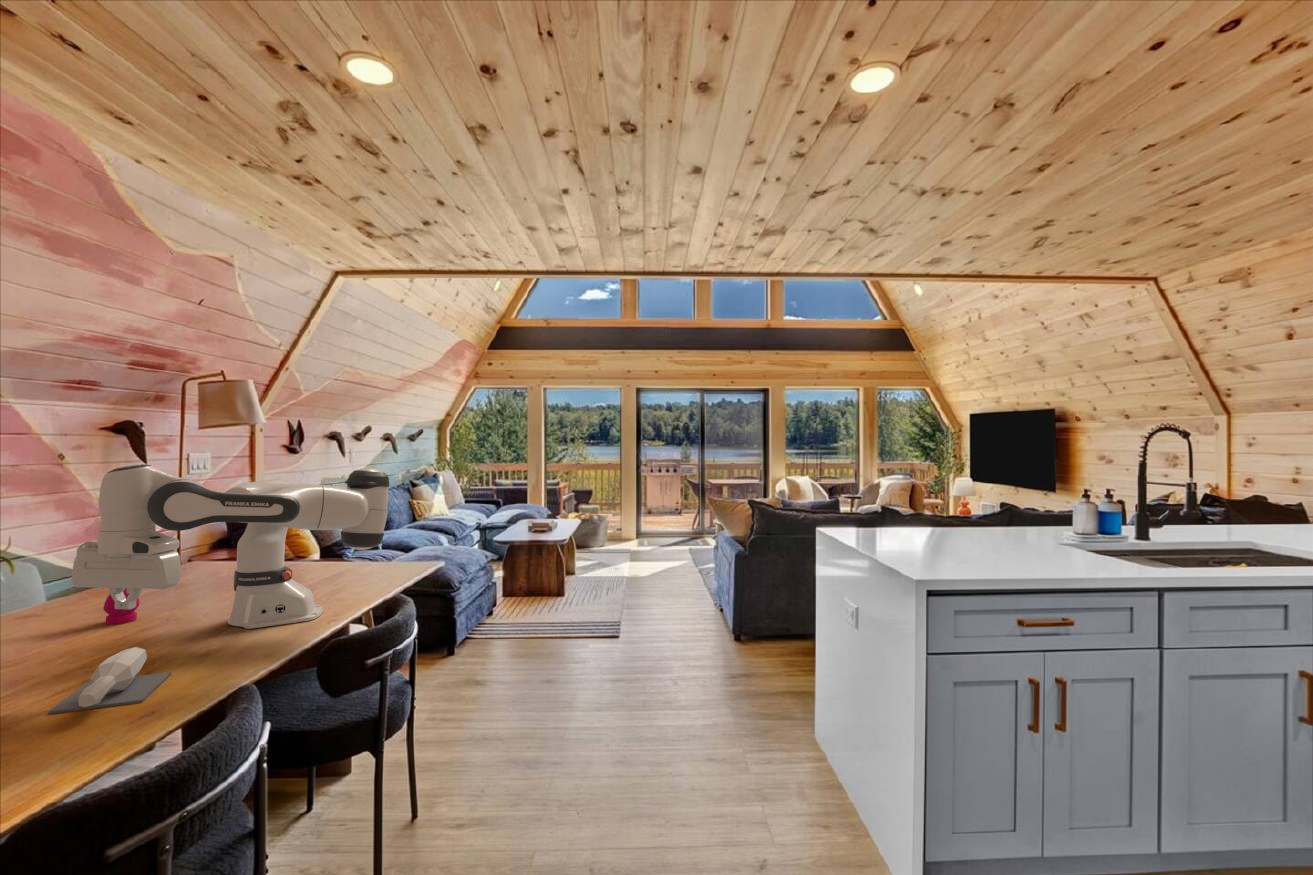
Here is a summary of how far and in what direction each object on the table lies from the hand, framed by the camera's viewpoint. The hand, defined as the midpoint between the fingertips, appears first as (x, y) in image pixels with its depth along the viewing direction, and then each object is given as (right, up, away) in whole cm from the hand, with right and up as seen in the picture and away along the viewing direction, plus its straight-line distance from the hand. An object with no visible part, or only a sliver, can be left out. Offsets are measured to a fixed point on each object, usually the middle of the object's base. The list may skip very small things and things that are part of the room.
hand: (125, 608), depth 118 cm
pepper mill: (-36, -15, +38) cm, 54 cm away
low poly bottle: (-1, -12, +3) cm, 12 cm away
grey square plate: (+3, -15, -5) cm, 16 cm away
